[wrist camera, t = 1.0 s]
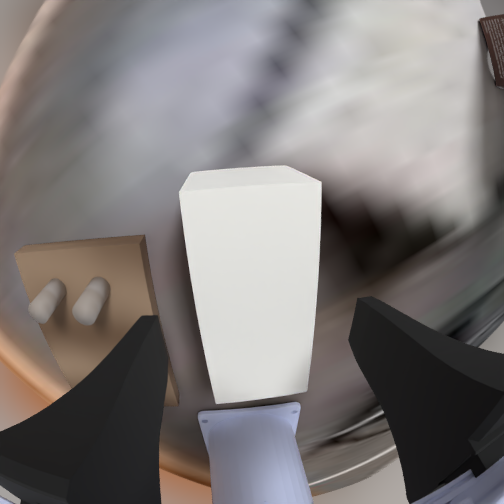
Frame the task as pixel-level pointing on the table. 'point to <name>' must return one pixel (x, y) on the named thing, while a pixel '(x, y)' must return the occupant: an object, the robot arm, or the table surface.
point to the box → (495, 44)
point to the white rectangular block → (254, 276)
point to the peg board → (89, 299)
